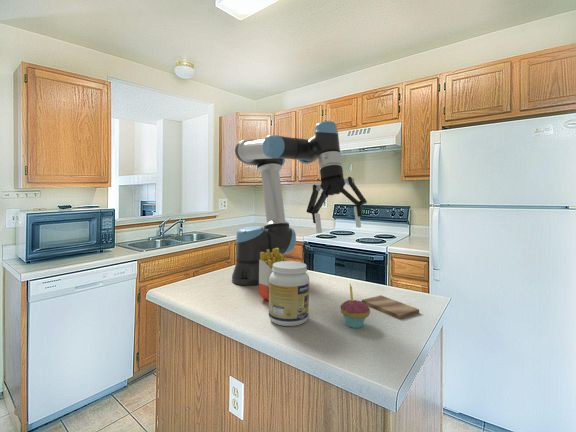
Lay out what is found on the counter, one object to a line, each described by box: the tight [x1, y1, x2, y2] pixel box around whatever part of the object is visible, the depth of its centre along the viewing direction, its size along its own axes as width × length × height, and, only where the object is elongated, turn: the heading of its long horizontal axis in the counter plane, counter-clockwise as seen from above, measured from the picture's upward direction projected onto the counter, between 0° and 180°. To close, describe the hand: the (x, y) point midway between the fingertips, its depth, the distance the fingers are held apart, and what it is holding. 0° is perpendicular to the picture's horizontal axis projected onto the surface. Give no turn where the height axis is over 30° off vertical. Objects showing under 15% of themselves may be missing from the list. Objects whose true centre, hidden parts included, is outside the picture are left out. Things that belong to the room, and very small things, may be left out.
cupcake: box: [339, 283, 371, 329], centre depth 91 cm, size 9×8×12 cm
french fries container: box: [258, 248, 288, 302], centre depth 111 cm, size 5×11×18 cm, turn 139°
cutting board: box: [361, 294, 420, 320], centre depth 105 cm, size 16×10×1 cm, turn 32°
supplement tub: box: [268, 260, 310, 327], centre depth 94 cm, size 12×12×17 cm
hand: (338, 230), depth 101 cm, fingers open, 13 cm apart
